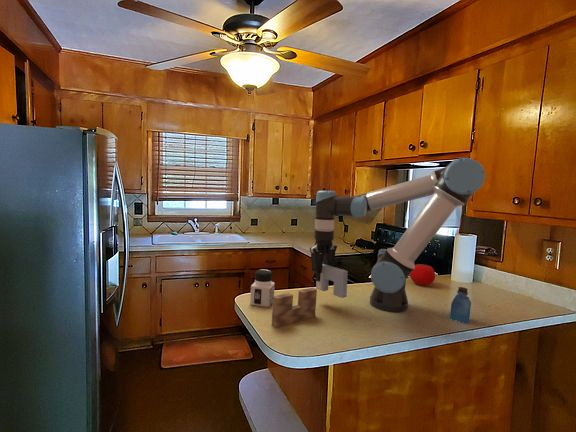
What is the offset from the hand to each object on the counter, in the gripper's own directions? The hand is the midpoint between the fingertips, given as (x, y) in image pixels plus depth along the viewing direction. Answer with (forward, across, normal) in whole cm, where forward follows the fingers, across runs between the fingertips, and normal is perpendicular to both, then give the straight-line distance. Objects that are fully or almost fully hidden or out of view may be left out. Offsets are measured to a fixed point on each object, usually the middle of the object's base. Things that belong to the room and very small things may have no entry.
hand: (322, 287), depth 135 cm
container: (+6, +20, -14) cm, 25 cm away
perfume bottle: (+9, -36, +39) cm, 53 cm away
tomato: (+8, -65, +7) cm, 65 cm away
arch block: (+1, 0, +5) cm, 5 cm away
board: (+7, +20, +6) cm, 22 cm away
